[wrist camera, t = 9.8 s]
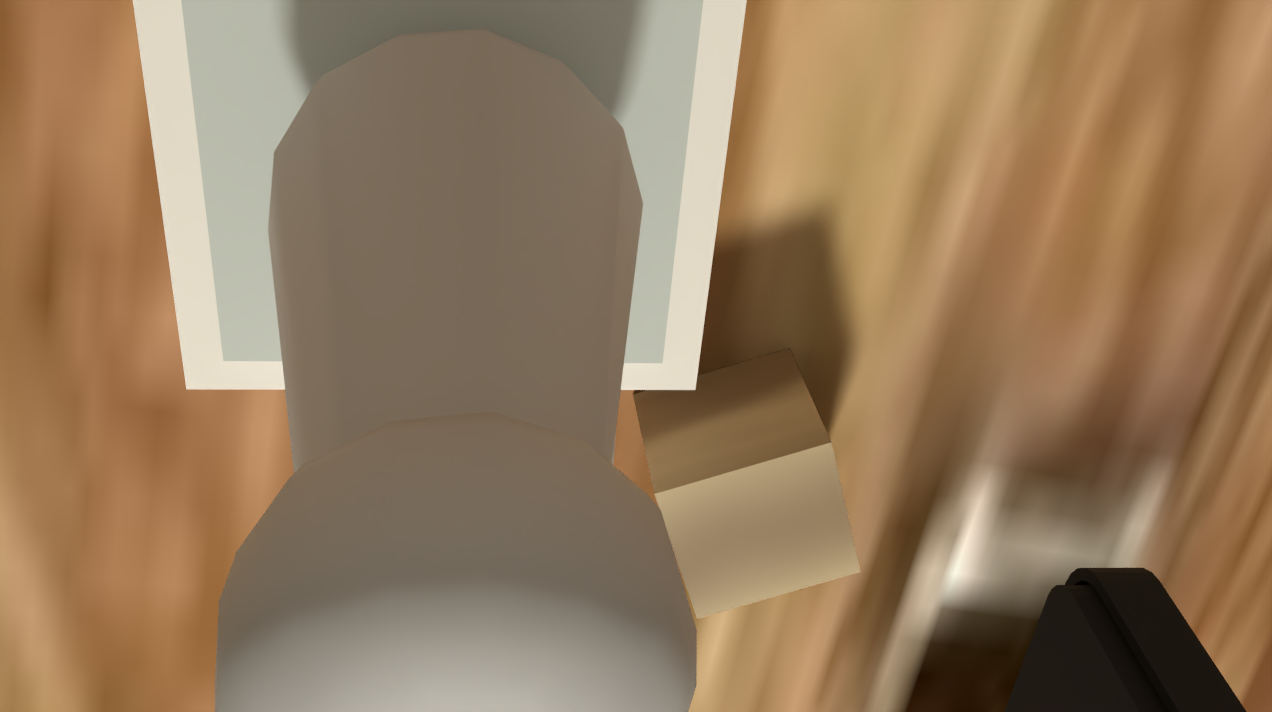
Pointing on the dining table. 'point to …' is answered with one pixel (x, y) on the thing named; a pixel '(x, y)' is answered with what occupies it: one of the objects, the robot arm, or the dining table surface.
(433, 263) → the salt shaker
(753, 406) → the tan block
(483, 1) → the base block
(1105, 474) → the dining table surface
